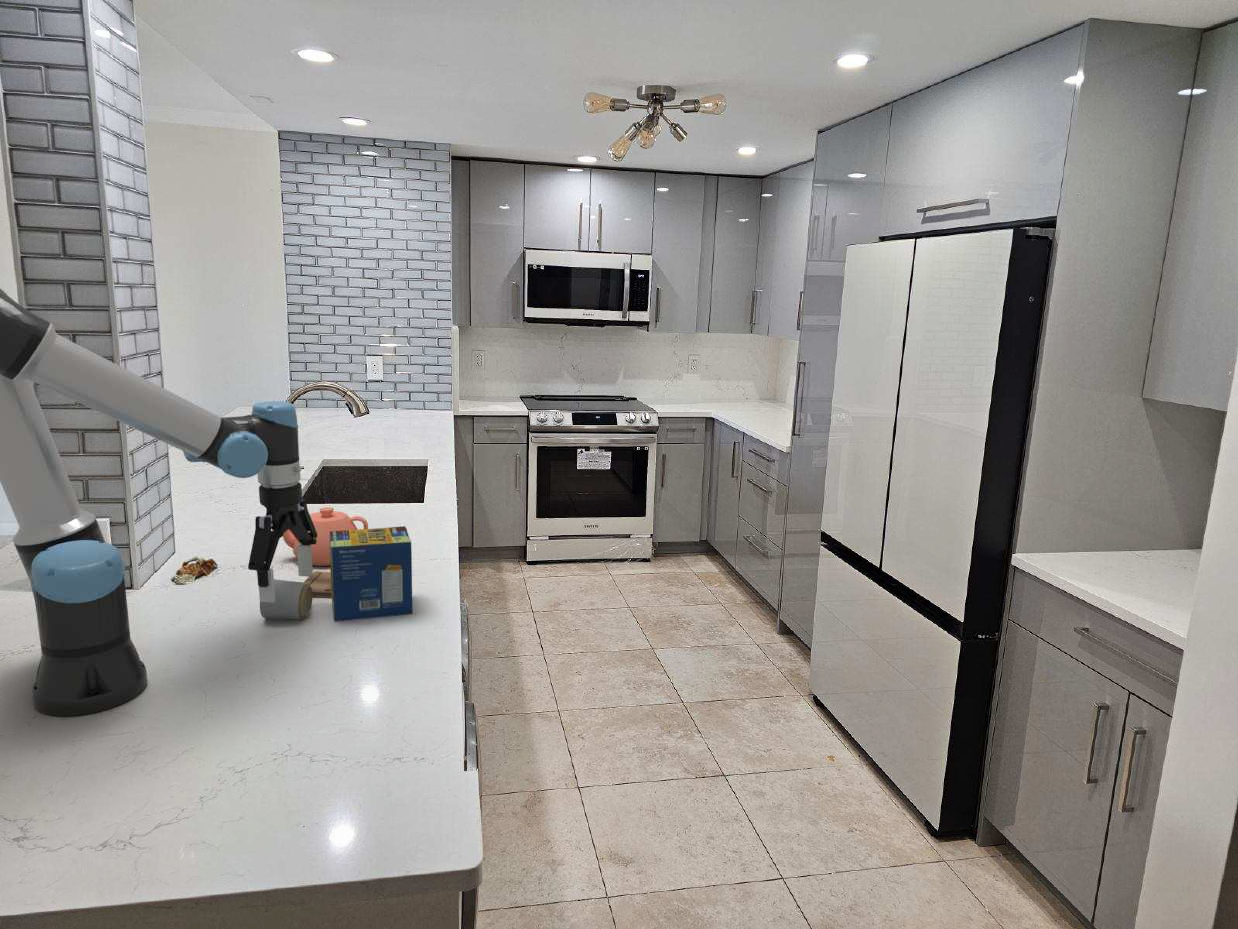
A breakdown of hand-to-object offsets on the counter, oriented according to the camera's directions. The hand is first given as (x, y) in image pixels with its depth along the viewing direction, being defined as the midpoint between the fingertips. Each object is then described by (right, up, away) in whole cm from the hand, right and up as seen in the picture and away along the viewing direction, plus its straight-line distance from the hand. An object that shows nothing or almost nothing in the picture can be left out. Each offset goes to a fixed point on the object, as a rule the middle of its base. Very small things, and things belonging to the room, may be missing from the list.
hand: (287, 588), depth 157 cm
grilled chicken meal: (-29, -1, +21) cm, 36 cm away
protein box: (+14, -5, +7) cm, 17 cm away
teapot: (-6, +2, +34) cm, 35 cm away
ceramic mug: (-1, -6, +2) cm, 6 cm away
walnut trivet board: (+1, -2, +17) cm, 17 cm away
